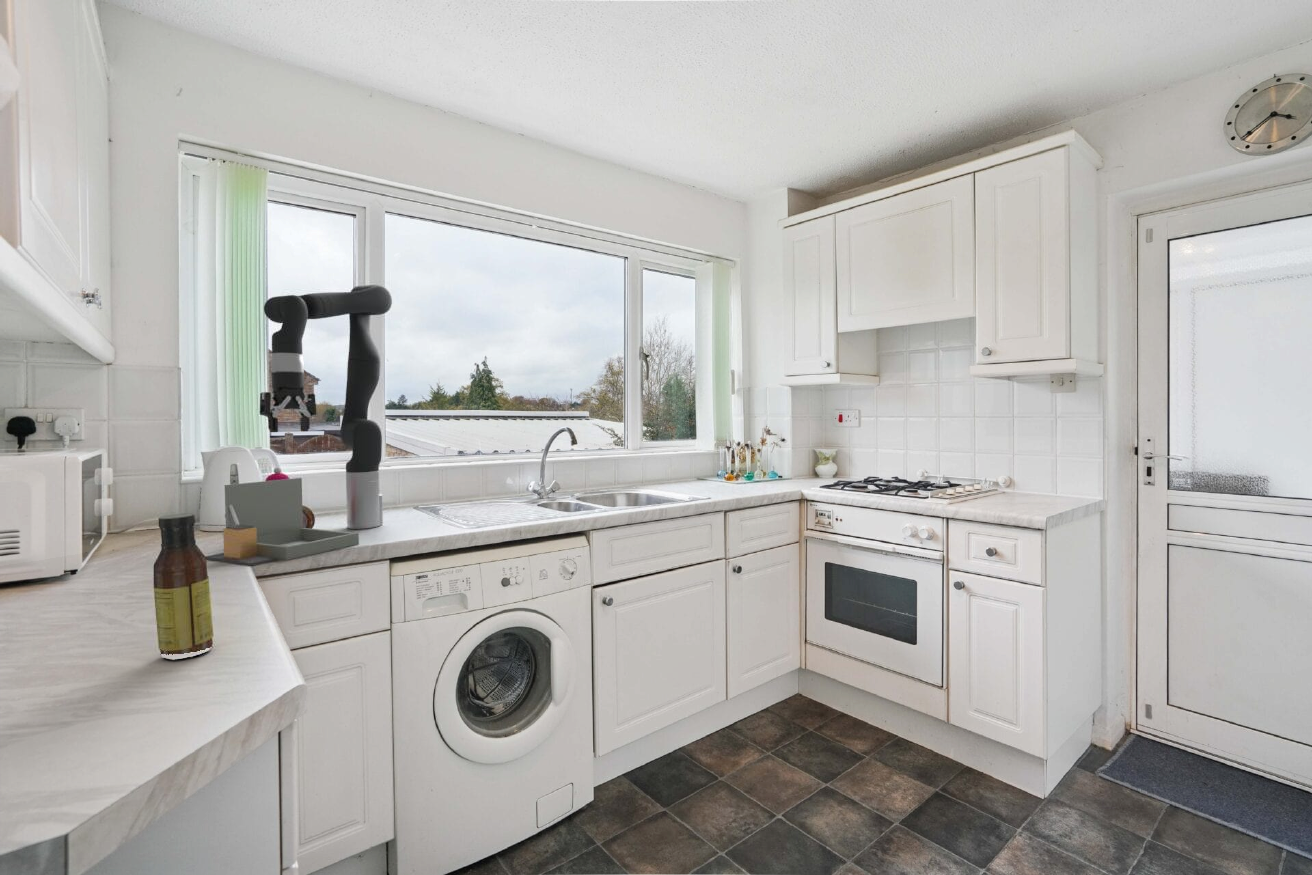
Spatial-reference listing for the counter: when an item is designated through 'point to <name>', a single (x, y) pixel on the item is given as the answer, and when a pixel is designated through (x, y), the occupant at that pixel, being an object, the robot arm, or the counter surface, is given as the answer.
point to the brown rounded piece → (308, 518)
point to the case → (279, 519)
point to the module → (240, 542)
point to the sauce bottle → (181, 589)
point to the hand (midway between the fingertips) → (289, 431)
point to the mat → (247, 561)
